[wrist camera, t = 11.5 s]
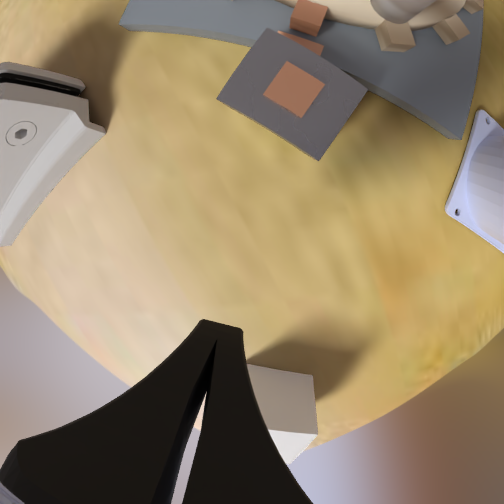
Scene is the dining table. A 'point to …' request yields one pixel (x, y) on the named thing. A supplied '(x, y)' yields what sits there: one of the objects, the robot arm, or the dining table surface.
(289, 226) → the dining table surface
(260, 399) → the white cube
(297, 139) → the link block
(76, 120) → the grey slotted holder
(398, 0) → the sprocket
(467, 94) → the base plate
